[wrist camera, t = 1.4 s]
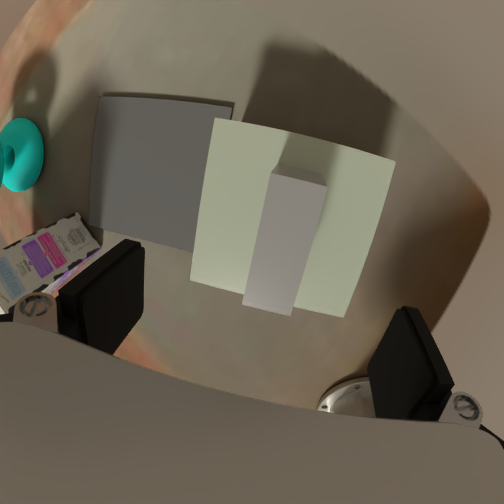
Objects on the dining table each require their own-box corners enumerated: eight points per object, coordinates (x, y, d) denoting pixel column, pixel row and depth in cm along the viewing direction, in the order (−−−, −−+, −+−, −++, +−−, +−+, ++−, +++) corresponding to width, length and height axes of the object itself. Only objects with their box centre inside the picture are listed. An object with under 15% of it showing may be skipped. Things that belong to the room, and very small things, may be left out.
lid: (387, 159, 21) (422, 171, 14) (340, 303, 26) (349, 358, 19) (222, 118, 21) (189, 113, 15) (198, 268, 26) (166, 313, 20)
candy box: (78, 208, 33) (-26, 262, 18) (103, 247, 34) (8, 319, 19) (34, 260, 37) (-44, 314, 22) (55, 292, 39) (-18, 354, 24)
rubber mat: (233, 108, 26) (232, 107, 26) (207, 253, 32) (206, 255, 32) (101, 96, 27) (99, 96, 27) (91, 223, 33) (88, 225, 33)
